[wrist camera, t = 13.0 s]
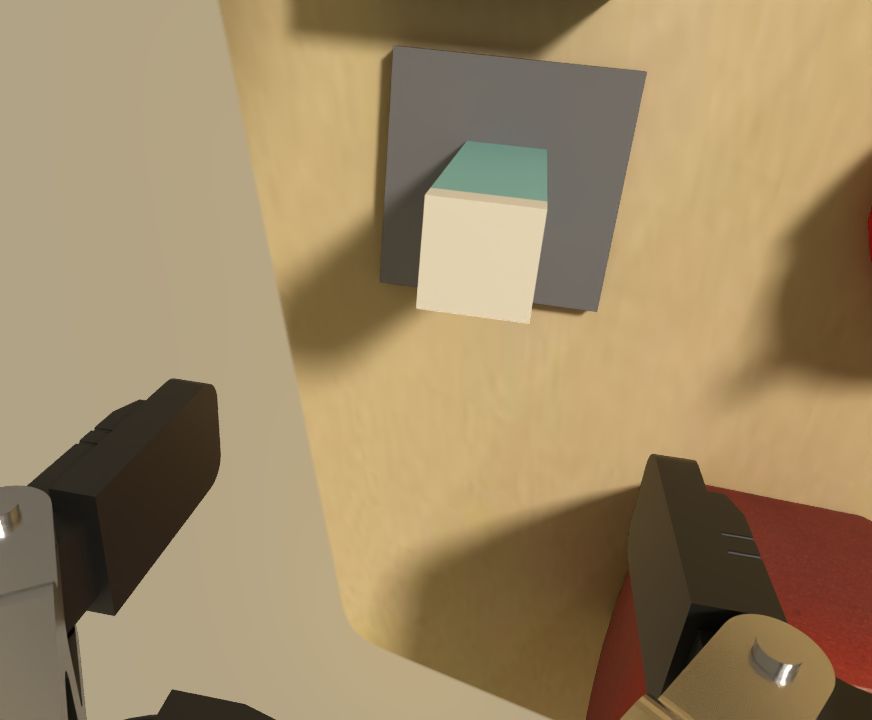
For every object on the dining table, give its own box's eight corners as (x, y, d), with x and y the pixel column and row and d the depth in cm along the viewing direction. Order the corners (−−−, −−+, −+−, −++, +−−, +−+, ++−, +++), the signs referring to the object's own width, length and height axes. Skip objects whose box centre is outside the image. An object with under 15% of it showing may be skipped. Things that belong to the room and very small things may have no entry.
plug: (547, 149, 34) (547, 209, 22) (535, 228, 36) (529, 323, 24) (466, 140, 34) (424, 194, 22) (458, 219, 36) (416, 308, 24)
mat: (644, 71, 33) (646, 72, 32) (595, 305, 38) (597, 311, 37) (397, 45, 34) (393, 45, 33) (383, 276, 39) (379, 282, 38)
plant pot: (824, 706, 48) (953, 1015, 33) (553, 646, 49) (556, 916, 34) (955, 485, 39) (1208, 763, 24) (623, 420, 41) (668, 645, 26)
